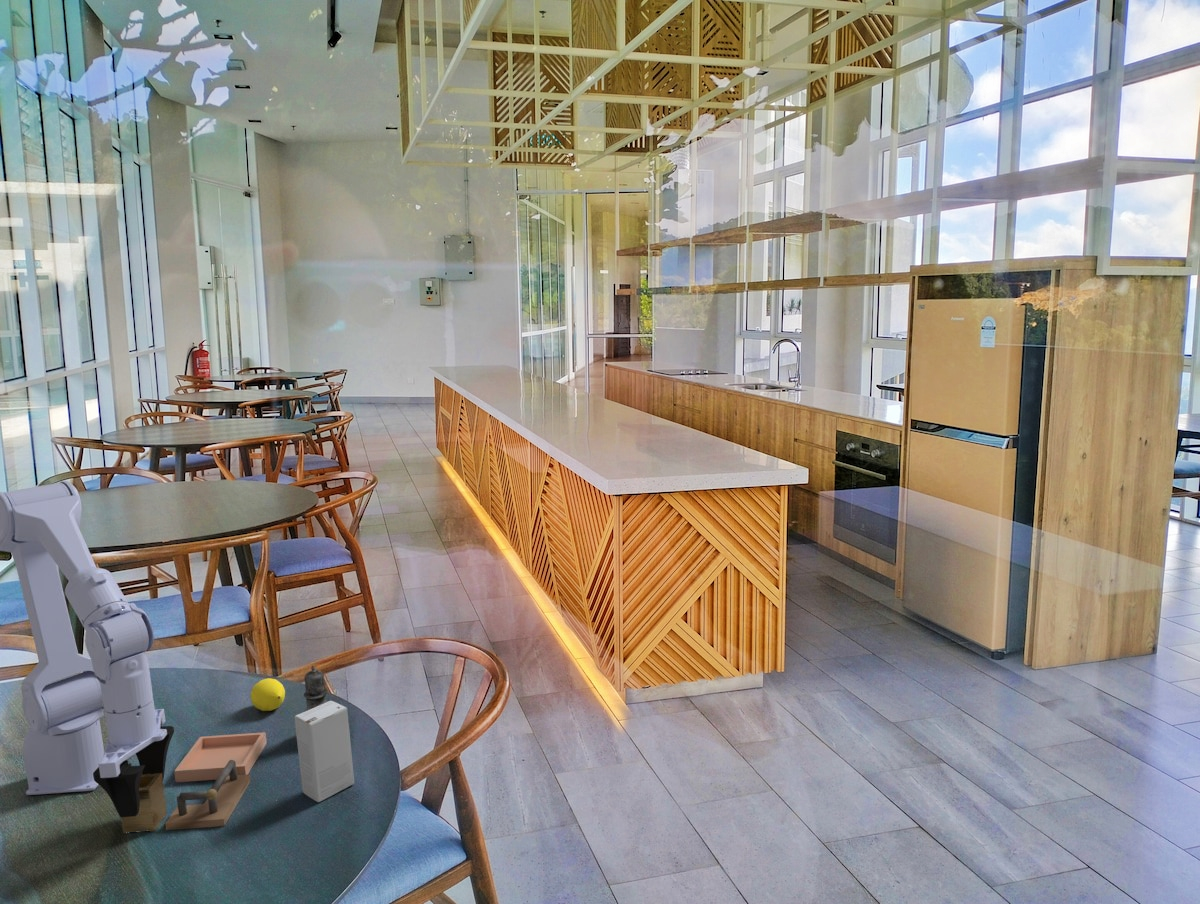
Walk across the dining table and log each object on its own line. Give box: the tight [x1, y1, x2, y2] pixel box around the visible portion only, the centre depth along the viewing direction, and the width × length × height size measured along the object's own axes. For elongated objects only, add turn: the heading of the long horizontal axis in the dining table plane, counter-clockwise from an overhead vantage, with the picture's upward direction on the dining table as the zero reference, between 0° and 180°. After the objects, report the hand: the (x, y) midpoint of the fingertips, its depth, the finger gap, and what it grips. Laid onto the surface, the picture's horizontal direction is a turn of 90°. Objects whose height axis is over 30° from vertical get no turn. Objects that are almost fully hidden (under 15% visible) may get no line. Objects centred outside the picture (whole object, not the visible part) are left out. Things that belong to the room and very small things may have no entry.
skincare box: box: [294, 700, 355, 803], centre depth 121 cm, size 6×4×12 cm
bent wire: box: [164, 760, 252, 831], centre depth 120 cm, size 8×11×4 cm
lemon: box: [249, 677, 286, 712], centre depth 147 cm, size 7×5×5 cm
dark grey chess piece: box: [303, 665, 328, 711], centre depth 137 cm, size 6×6×12 cm
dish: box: [173, 731, 268, 783], centre depth 131 cm, size 10×10×2 cm
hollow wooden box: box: [120, 773, 168, 834], centre depth 115 cm, size 4×4×6 cm
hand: (142, 798), depth 115 cm, fingers open, 7 cm apart
